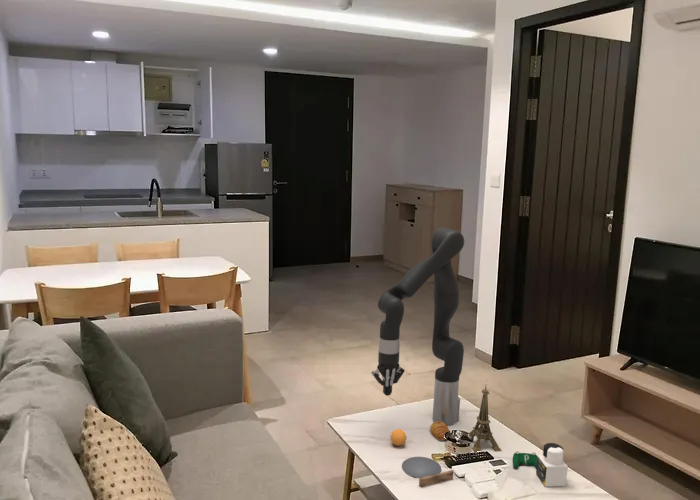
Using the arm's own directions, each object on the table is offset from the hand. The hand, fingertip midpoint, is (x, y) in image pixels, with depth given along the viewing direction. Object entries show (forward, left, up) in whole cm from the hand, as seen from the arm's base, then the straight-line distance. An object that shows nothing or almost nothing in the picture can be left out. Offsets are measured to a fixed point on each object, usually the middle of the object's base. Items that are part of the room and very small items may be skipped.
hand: (387, 394), depth 216 cm
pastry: (-18, +8, -16) cm, 26 cm away
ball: (0, +9, -12) cm, 15 cm away
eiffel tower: (-28, +20, -15) cm, 38 cm away
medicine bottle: (-35, +47, -15) cm, 61 cm away
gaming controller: (-34, +37, -15) cm, 53 cm away
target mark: (0, +25, -15) cm, 30 cm away
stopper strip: (0, +34, -15) cm, 38 cm away
